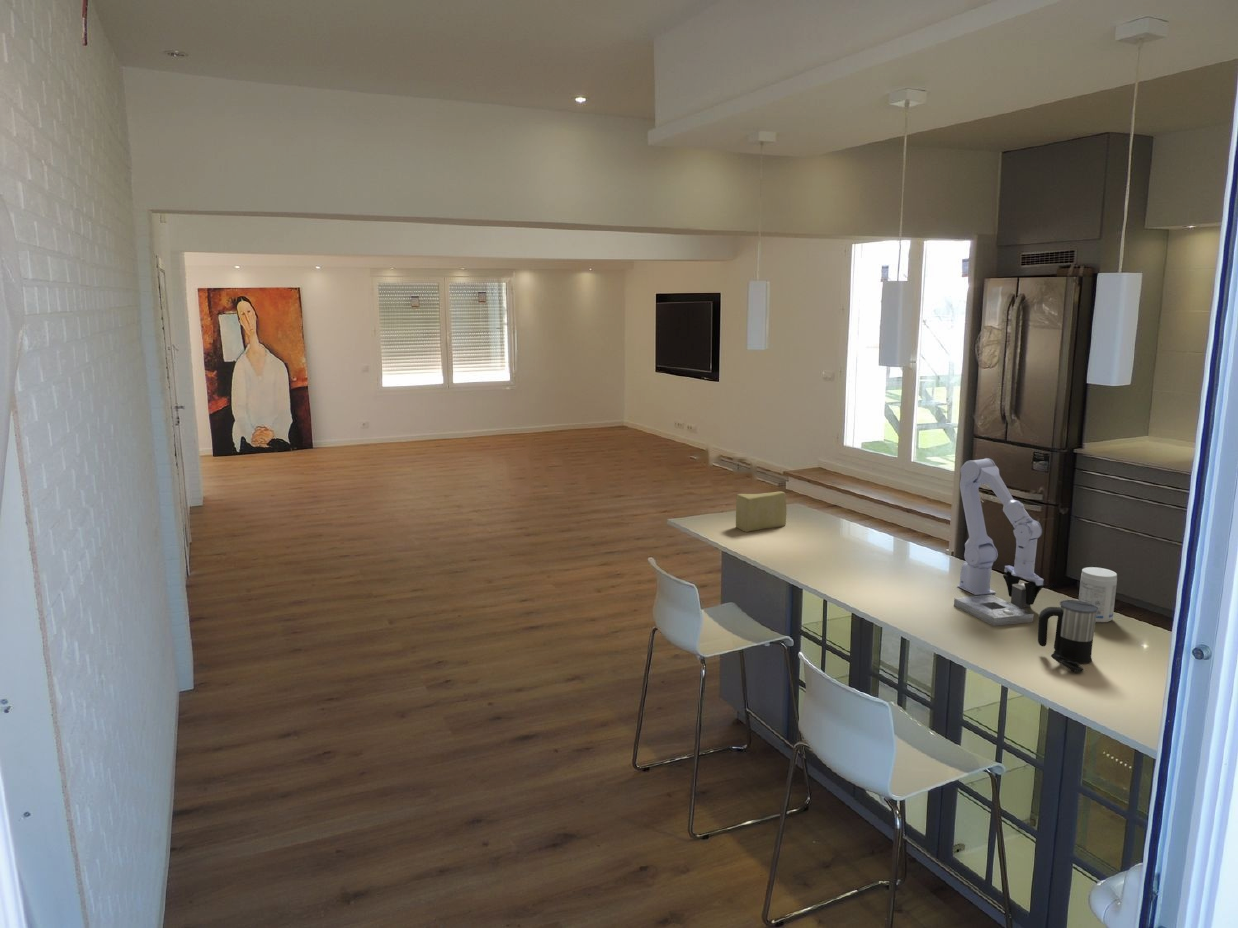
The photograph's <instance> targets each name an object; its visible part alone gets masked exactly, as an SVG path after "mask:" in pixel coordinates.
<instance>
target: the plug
mask: <svg viewBox="0 0 1238 928" xmlns="http://www.w3.org/2000/svg"><path fill="white" fill-rule="evenodd" d="M1024 583H1025V582H1024ZM1024 583H1023V582H1019V583H1018V584H1012V595H1011V597H1010V598H1011V599H1010V603H1011V604H1013V605H1016V606H1018V607H1020V608H1022V609H1024V608H1031V605H1027V604H1026V588H1025V585H1024Z"/></svg>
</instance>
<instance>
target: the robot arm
mask: <svg viewBox="0 0 1238 928" xmlns="http://www.w3.org/2000/svg"><path fill="white" fill-rule="evenodd" d="M959 471H960V475H961V476H960V480H959V491H960V496H961V501H962V505H963V511H964V516H965V521H966V526H967V527H966V529H967V532H968V533H967V534H968V539H967V540H966V542H965V543H964V548H965V549H964V554H963V557H964V560H965V562H964V563H963V564H962V565H961V568H960V575H959V576H960V577H959V584H957V585H956V587H958V588H960V589H961V590H964V591H966V592H967V593H968V592H969V593H971V594H972V595H973V596H974V595H975V596H980V595H990V594H992V595H994V594H996V593H997V592H996V591H995V590H992V589H991V588H990V587H991V579H992V569H993V568H992V567H993V565H994V562H996V560H997V558H998V557H999V554H998V553H999V552H998V549H997V548H996V546H995V544H994V540H993V538H991V537H990V536H988V533H987V529H986V523H985V522H986V521H985V516H984V512H983V506H982V503H981V502H982V501H981V497H980V496H981V495H980V490H979V488H980V487H981V486H982V484H983V485H987V486H988V487H989V488H990V489H991V490H992V492H993V493H994V494H995V496H996V497H997V499H998V500H999V501H1000V503H1002V505H1003V508H1002V512H1003V513H1004V514H1005V517H1007V520H1009V522H1010V524H1011V525H1012V527H1013V528H1014V529H1013V531H1012V533H1013V535H1014V537H1015V544H1016V545H1015V546H1016V547H1015V554H1014V556H1015V557H1014V566H1012V565H1004V574H1002V577H1003V579H1004V581H1005V583H1006V587H1007V592H1008V593H1007V594H1008V597H1010V598H1011V595H1012V584H1019V583H1020V581H1021V579H1024V580H1026V581H1028V582H1024V585H1025V588H1026V604H1027V605H1030V606H1031V605H1032V606H1033V605H1034V603H1035V601H1036V598H1037V596H1038V594H1039V592H1040V591H1041V590H1042V589H1043V588H1044V581H1045V580H1044V578H1042V577H1040V576H1039V575H1038V574H1036V573H1035V567H1036V565H1035V564H1036V555H1037V546H1038V539H1039V538H1040V537H1041V536H1042V534H1043V528H1042V526H1041V523H1040V522H1039V521H1037V520H1035V519H1033V518H1032V517H1031V516H1030V514H1029V513H1028V512H1027V510H1026V509H1025V505H1024V504H1023V502H1021V501H1020V500H1017V499H1014V498H1013V496H1012V494H1011V492H1010V491H1009V489H1008V487H1007V486H1006V484H1005V482H1004V480H1003V478H1002V476H1001V475H1000V469H999V467H998V466H997V465H996V463H995V461H994V460H993V459H991V458H988V457H985V458H983V459H974V460H971V459H970V460H967V461H965V462H964V463H963V465H961V467H960V468H959Z"/></svg>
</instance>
